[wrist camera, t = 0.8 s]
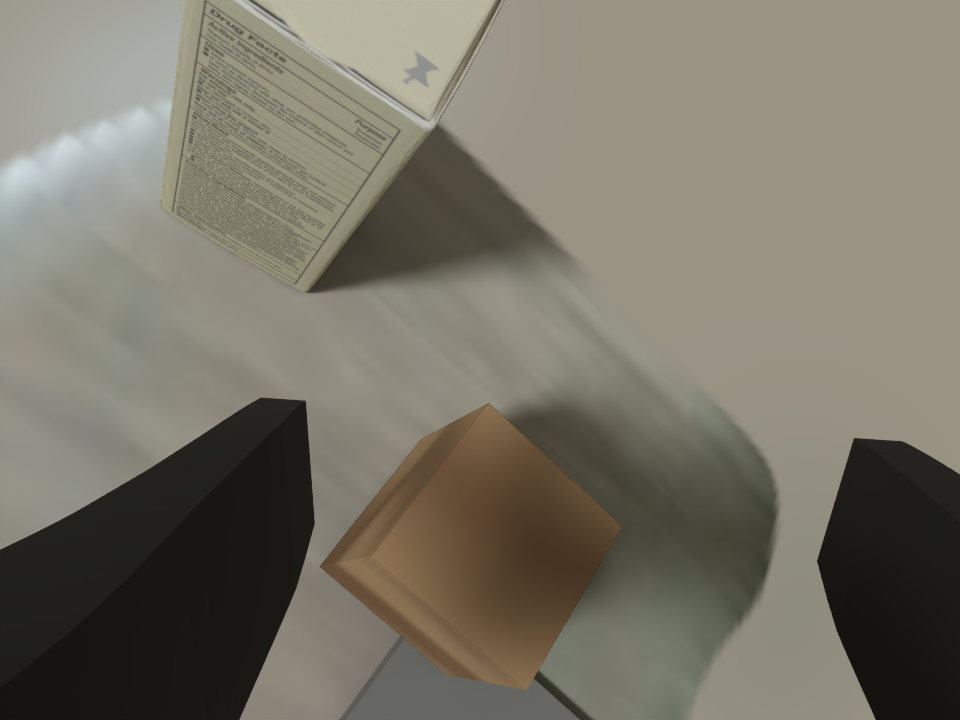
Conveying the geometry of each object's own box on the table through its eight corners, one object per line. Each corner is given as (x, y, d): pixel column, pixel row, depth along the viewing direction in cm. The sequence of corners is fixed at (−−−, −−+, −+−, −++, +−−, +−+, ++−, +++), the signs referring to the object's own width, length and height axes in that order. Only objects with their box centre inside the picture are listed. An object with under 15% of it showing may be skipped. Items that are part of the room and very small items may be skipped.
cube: (446, 674, 23) (526, 689, 19) (319, 566, 22) (372, 556, 18) (533, 540, 26) (621, 526, 21) (421, 439, 25) (489, 402, 21)
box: (367, 194, 26) (531, -13, 16) (304, 300, 24) (445, 142, 14) (222, 97, 24) (306, -196, 14) (145, 203, 23) (180, -47, 13)
